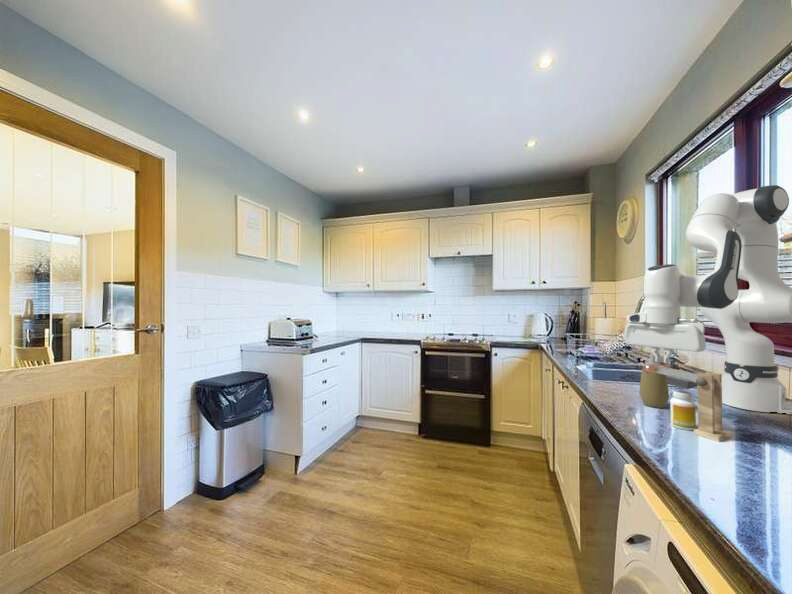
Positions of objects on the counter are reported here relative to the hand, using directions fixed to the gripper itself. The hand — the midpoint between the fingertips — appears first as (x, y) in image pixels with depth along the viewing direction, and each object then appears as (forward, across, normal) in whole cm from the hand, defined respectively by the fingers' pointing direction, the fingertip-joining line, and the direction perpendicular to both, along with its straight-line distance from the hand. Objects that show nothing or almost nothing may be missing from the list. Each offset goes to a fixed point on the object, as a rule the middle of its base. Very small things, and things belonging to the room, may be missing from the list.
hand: (662, 362), depth 101 cm
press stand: (+16, -13, +4) cm, 21 cm away
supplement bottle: (+17, -7, +4) cm, 19 cm away
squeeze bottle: (+17, +7, -10) cm, 21 cm away
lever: (+5, -6, +3) cm, 8 cm away
